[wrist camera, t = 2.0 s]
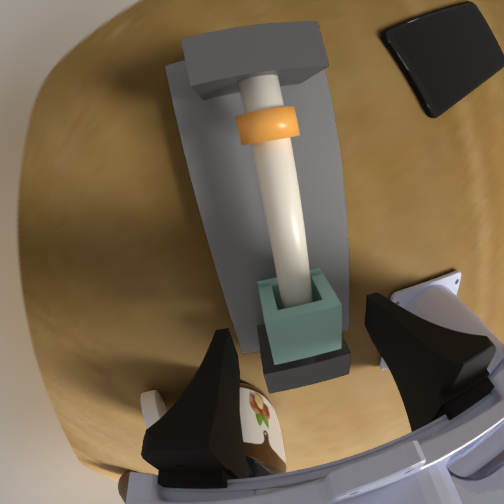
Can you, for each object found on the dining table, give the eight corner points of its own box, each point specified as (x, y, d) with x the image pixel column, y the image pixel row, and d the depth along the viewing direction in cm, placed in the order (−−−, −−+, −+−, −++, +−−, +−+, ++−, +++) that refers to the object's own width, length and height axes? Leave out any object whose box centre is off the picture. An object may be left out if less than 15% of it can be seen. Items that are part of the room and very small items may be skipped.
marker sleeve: (322, 308, 16) (341, 348, 13) (266, 321, 16) (274, 364, 13) (319, 267, 15) (341, 304, 12) (257, 281, 15) (264, 322, 12)
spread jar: (286, 410, 25) (305, 507, 14) (199, 435, 26) (198, 519, 16) (224, 346, 20) (227, 491, 9) (126, 383, 22) (100, 488, 11)
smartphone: (379, 31, 11) (473, 0, 8) (373, 35, 11) (468, 1, 8) (433, 121, 13) (508, 64, 10) (426, 121, 14) (502, 64, 11)
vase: (153, 481, 37) (150, 515, 29) (121, 473, 36) (116, 506, 28) (155, 474, 34) (152, 512, 27) (119, 465, 33) (113, 502, 25)
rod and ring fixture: (343, 319, 20) (370, 371, 15) (241, 343, 20) (246, 401, 15) (311, 46, 12) (349, 13, 7) (170, 70, 12) (139, 41, 7)
